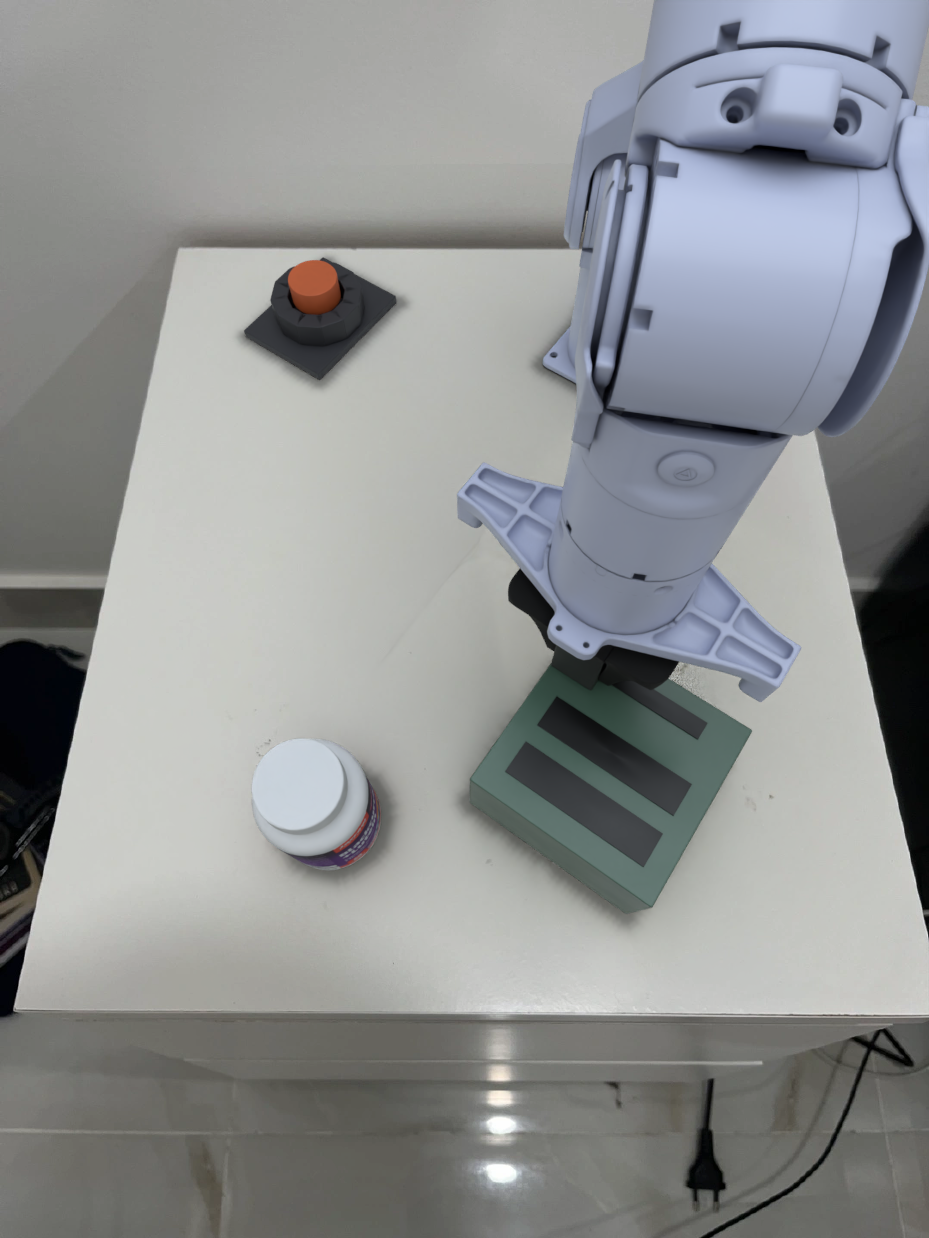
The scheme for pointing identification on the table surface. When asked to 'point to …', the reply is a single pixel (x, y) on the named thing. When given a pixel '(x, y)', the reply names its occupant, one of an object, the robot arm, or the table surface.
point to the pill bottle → (315, 803)
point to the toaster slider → (581, 665)
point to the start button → (314, 287)
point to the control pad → (319, 323)
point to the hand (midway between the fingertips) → (587, 651)
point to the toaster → (609, 779)
